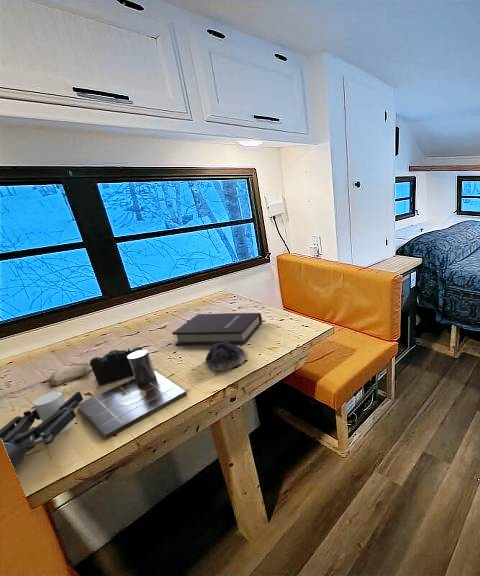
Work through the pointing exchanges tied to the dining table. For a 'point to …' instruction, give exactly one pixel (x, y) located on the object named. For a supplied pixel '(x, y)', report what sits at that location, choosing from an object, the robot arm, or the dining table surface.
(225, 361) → the crystal cluster
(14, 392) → the dining table surface
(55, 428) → the robot arm
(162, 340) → the dining table surface
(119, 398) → the grid board
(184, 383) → the dining table surface
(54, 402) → the white plastic cylinder
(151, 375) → the shiny metal cylinder
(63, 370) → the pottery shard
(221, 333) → the book
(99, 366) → the camera
